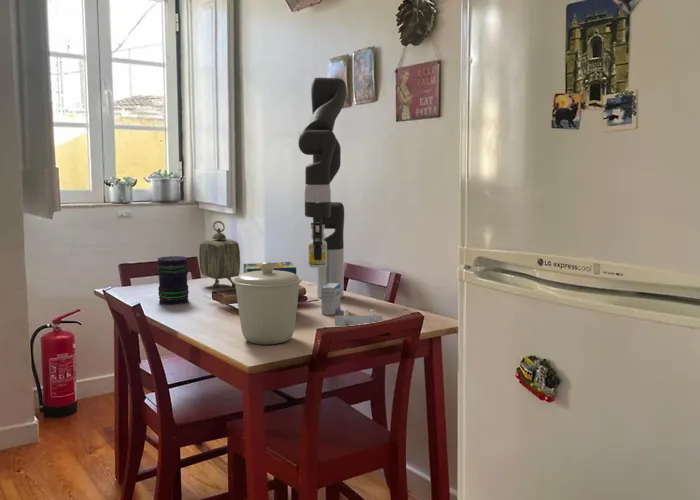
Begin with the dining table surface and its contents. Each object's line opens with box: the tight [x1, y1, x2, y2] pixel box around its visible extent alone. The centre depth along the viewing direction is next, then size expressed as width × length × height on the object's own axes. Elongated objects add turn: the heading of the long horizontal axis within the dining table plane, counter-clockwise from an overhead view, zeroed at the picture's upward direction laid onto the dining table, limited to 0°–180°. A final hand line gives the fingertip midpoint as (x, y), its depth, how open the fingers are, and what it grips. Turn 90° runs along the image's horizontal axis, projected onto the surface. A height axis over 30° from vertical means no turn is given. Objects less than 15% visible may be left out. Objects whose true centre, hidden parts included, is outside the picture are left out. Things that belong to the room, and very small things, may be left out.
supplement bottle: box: [308, 233, 327, 269], centre depth 197 cm, size 5×5×10 cm
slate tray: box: [334, 309, 384, 327], centre depth 193 cm, size 16×14×4 cm
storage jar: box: [157, 255, 190, 306], centre depth 227 cm, size 10×10×15 cm
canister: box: [232, 261, 303, 345], centre depth 179 cm, size 18×18×21 cm
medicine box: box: [320, 283, 341, 316], centre depth 213 cm, size 8×4×9 cm, turn 168°
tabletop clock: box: [198, 220, 241, 288], centre depth 255 cm, size 14×9×25 cm, turn 46°
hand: (317, 258), depth 197 cm, fingers closed on supplement bottle, 5 cm apart
